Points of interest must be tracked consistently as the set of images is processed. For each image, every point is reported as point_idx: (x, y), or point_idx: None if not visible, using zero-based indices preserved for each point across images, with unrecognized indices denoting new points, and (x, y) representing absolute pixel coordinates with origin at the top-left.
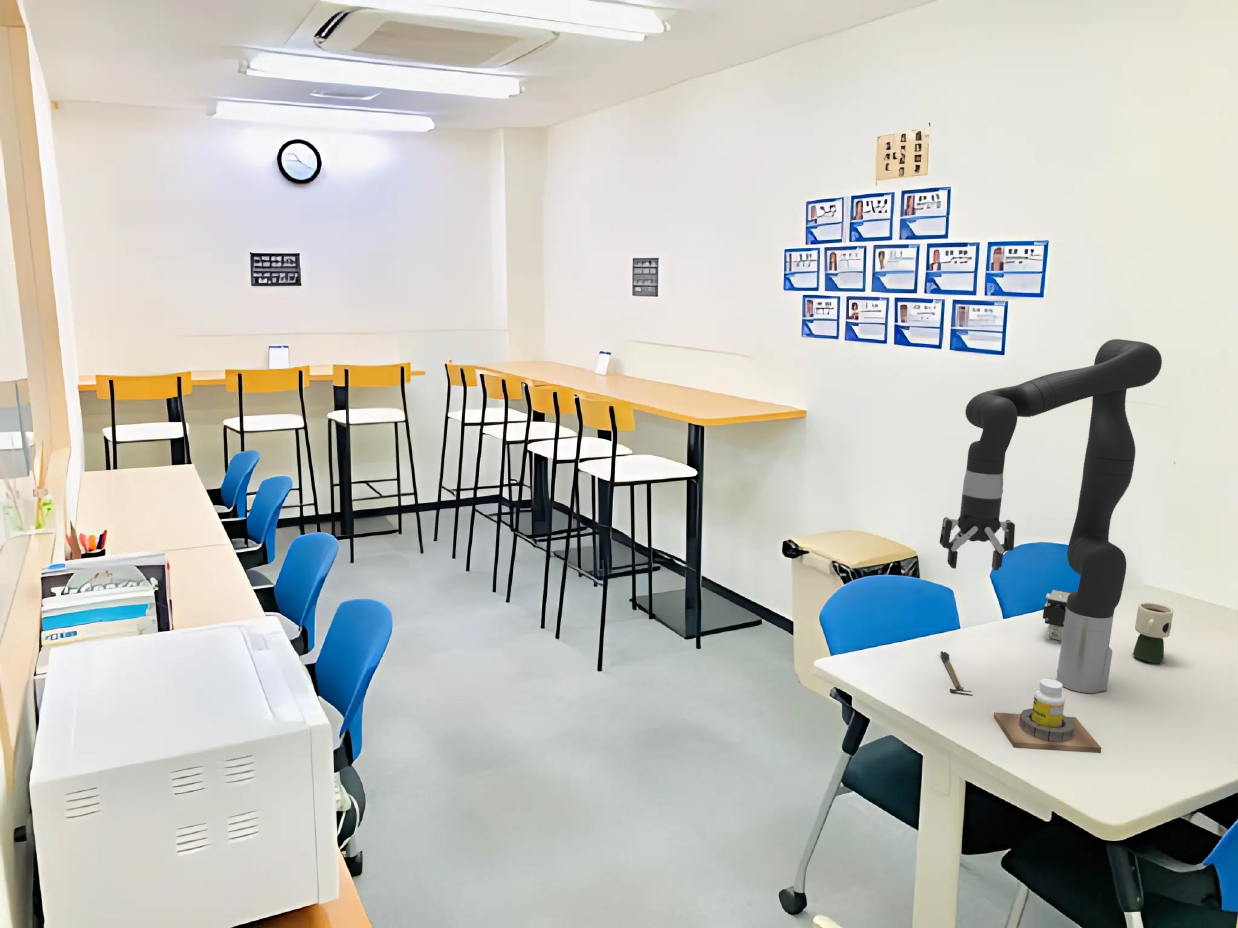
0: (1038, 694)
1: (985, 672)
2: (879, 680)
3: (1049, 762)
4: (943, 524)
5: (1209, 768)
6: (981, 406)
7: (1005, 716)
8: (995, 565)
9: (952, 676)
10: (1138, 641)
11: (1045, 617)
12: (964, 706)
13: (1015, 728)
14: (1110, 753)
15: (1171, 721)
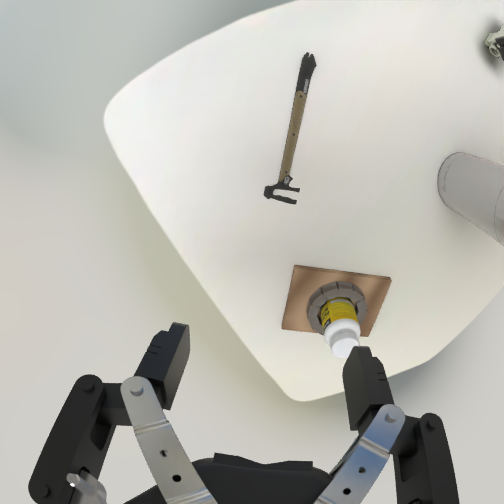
0: (326, 337)
1: (354, 125)
2: (166, 156)
3: (302, 347)
4: (45, 470)
5: (433, 347)
6: None
7: (304, 278)
8: (344, 388)
9: (288, 144)
10: None
11: (498, 42)
12: (267, 236)
13: (300, 304)
14: (374, 334)
15: (477, 275)
